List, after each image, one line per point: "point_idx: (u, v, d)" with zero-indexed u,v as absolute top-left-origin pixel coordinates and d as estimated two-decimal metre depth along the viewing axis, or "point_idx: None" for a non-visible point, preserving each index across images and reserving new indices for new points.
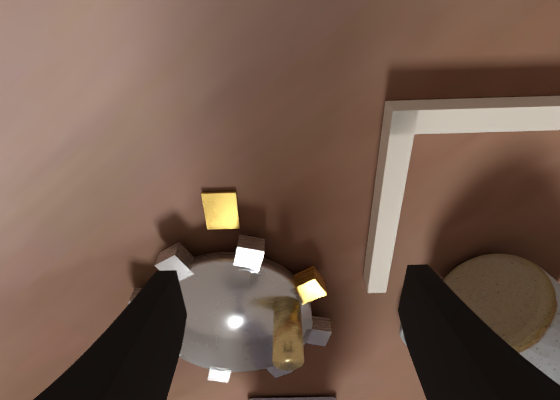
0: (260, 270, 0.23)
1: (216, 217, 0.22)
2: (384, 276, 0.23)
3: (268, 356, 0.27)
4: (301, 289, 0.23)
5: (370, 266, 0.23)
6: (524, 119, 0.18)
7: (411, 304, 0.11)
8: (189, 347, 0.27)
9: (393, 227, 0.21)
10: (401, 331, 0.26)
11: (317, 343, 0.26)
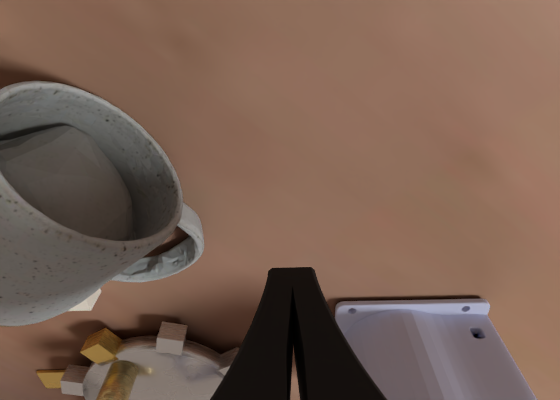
0: (82, 382, 0.25)
1: None
2: None
3: (209, 380, 0.25)
4: (97, 360, 0.24)
5: None
6: None
7: None
8: None
9: None
10: (156, 279, 0.20)
11: (179, 347, 0.23)
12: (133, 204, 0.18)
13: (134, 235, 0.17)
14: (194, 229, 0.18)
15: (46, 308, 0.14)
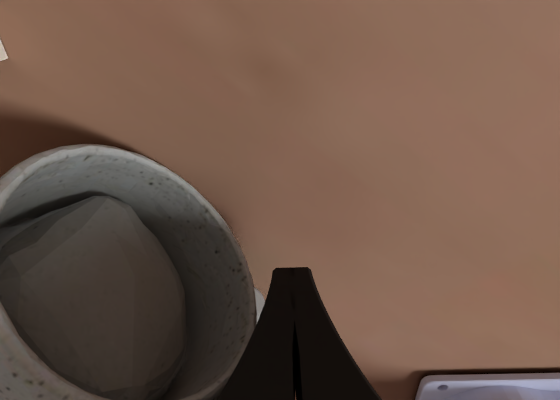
0: None
1: None
2: None
3: None
4: None
5: None
6: None
7: None
8: None
9: None
10: None
11: None
12: (182, 286, 0.14)
13: (187, 332, 0.13)
14: None
15: None
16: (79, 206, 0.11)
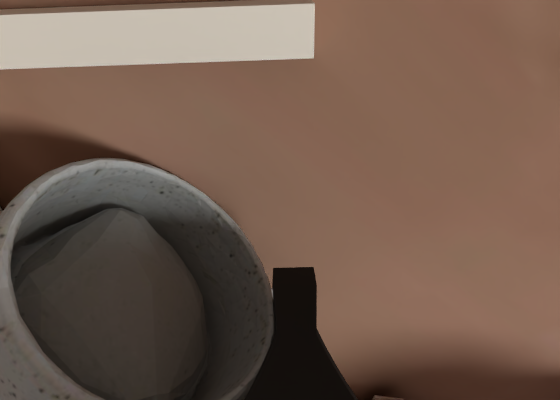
0: None
1: None
2: None
3: None
4: None
5: None
6: None
7: None
8: None
9: None
10: None
11: None
12: (199, 292, 0.14)
13: (207, 337, 0.13)
14: None
15: None
16: (93, 220, 0.11)
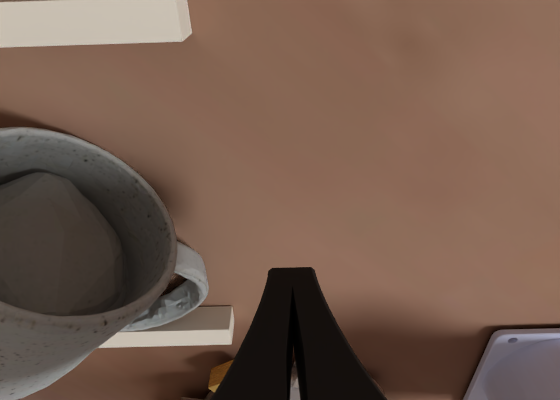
0: None
1: None
2: (201, 333, 0.19)
3: None
4: None
5: None
6: None
7: None
8: None
9: (125, 335, 0.19)
10: None
11: None
12: (125, 249, 0.16)
13: (127, 286, 0.15)
14: (194, 273, 0.16)
15: (29, 386, 0.12)
16: (20, 180, 0.13)
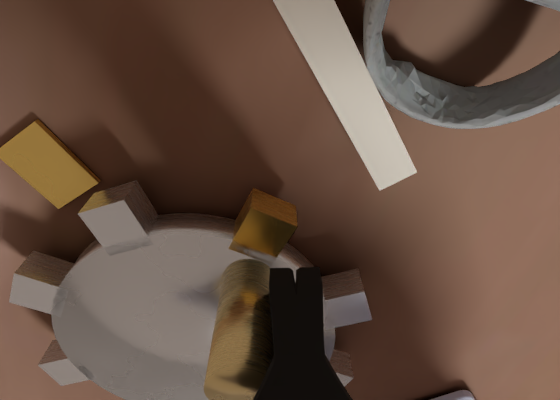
0: (150, 236, 0.12)
1: (51, 182, 0.13)
2: (389, 138, 0.10)
3: None
4: (245, 238, 0.12)
5: (347, 131, 0.10)
6: None
7: None
8: (174, 396, 0.17)
9: (325, 6, 0.09)
10: (378, 87, 0.10)
11: (355, 320, 0.14)
12: None
13: None
14: None
15: None
16: None
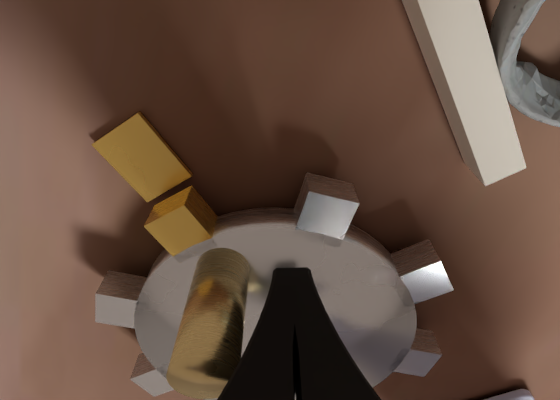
0: (137, 299, 0.13)
1: (144, 174, 0.12)
2: (505, 133, 0.10)
3: (374, 298, 0.13)
4: (175, 246, 0.12)
5: (462, 126, 0.10)
6: None
7: None
8: None
9: None
10: (505, 88, 0.10)
11: (346, 218, 0.11)
12: None
13: None
14: None
15: None
16: None
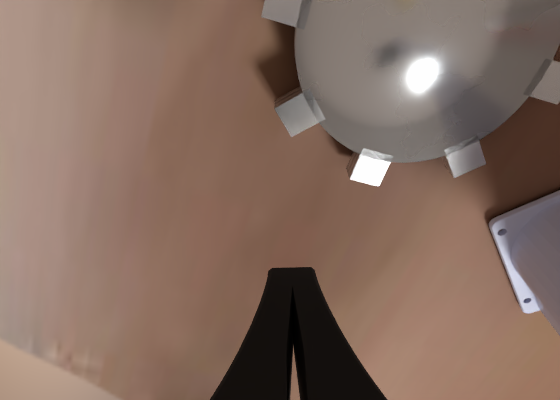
0: None
1: None
2: None
3: None
4: None
5: None
6: None
7: None
8: (463, 120, 0.17)
9: None
10: None
11: None
12: None
13: None
14: None
15: None
16: None
